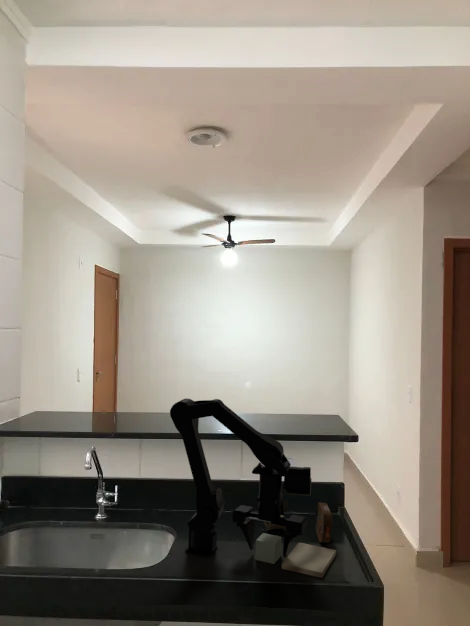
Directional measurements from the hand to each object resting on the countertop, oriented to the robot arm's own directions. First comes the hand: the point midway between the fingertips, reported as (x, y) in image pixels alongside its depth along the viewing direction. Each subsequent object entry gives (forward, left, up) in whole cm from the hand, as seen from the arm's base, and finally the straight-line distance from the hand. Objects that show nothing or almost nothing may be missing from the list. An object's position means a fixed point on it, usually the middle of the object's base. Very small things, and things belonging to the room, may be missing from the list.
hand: (268, 553), depth 136 cm
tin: (+9, +20, -1) cm, 22 cm away
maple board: (+10, +3, -1) cm, 10 cm away
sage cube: (0, 0, -1) cm, 1 cm away
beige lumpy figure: (-5, +19, -1) cm, 20 cm away
